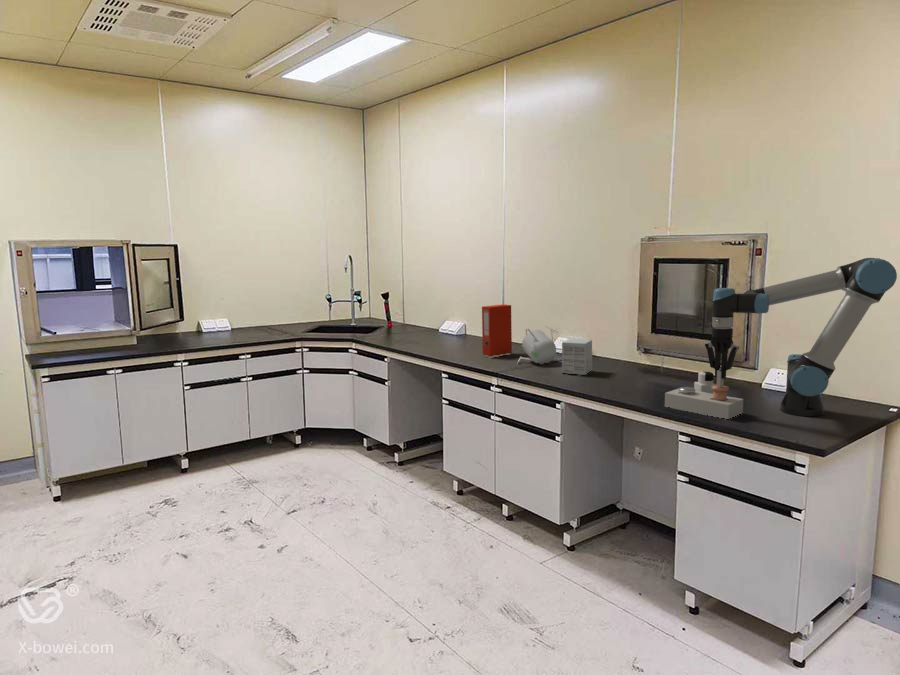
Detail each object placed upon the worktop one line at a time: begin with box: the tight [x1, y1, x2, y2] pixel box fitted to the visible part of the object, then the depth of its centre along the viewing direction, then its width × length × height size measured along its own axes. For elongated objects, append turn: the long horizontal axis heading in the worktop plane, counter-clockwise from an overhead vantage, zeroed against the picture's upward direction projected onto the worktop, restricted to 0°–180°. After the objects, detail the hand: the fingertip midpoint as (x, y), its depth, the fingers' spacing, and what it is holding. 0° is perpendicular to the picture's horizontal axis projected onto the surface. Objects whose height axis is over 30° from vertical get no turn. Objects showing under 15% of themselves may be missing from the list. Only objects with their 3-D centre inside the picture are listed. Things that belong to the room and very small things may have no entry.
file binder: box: [481, 303, 513, 356], centre depth 374 cm, size 8×17×32 cm, turn 124°
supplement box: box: [561, 338, 593, 375], centre depth 320 cm, size 13×13×18 cm
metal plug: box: [678, 386, 695, 395], centre depth 248 cm, size 6×6×8 cm
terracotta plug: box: [711, 384, 730, 402], centre depth 237 cm, size 6×6×8 cm
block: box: [664, 388, 744, 420], centre depth 243 cm, size 27×12×6 cm, turn 39°
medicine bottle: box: [693, 371, 717, 394], centre depth 259 cm, size 7×7×12 cm
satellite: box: [517, 325, 558, 364], centre depth 348 cm, size 23×20×25 cm
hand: (719, 386), depth 236 cm, fingers closed
